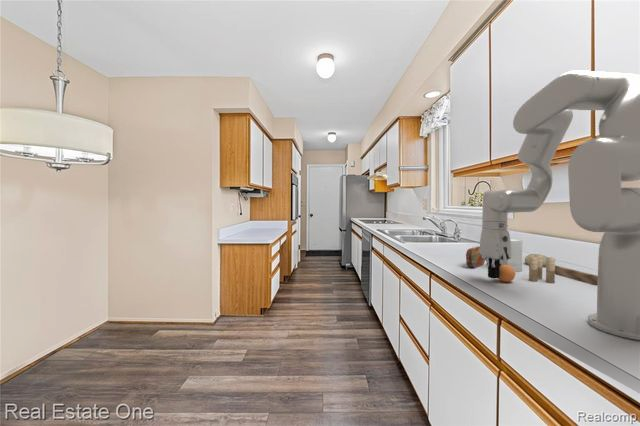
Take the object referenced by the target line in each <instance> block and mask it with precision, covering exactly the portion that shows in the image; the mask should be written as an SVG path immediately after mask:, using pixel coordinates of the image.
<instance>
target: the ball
mask: <svg viewBox="0 0 640 426" xmlns="http://www.w3.org/2000/svg"><path fill="white" fill-rule="evenodd" d="M515 278H516V272H515V271H514V269H513V268H512V267H511V266H509V265H501V267H499V278H497V279H498V280H499V281H501V282H503V283H508V282H512V281H513V280H514V279H515Z"/></svg>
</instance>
